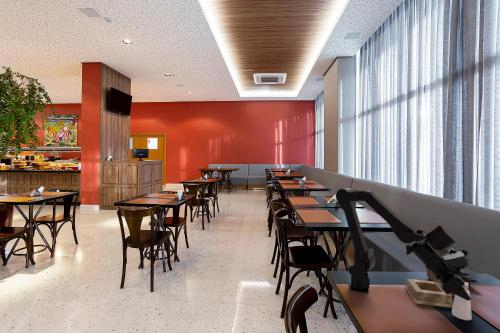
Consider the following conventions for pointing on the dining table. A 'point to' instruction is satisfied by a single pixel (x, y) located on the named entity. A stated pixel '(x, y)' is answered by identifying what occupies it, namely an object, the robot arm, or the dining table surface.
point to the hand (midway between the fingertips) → (467, 297)
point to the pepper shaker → (462, 306)
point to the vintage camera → (464, 276)
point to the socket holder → (428, 293)
